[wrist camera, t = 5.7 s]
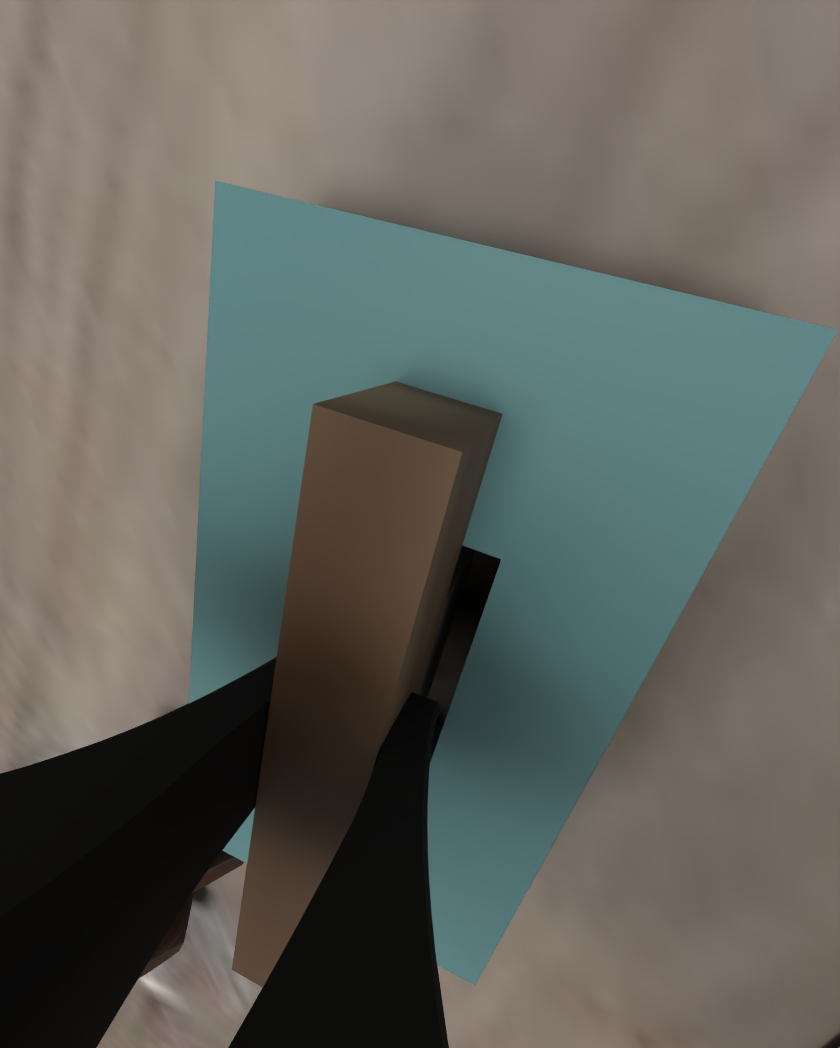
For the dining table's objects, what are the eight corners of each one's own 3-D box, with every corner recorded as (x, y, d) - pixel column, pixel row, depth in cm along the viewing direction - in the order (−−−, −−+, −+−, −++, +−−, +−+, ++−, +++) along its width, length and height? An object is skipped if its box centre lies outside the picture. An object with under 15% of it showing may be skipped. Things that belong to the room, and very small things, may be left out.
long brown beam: (524, 393, 11) (462, 452, 6) (394, 799, 17) (304, 1011, 12) (440, 368, 12) (312, 404, 6) (341, 774, 18) (231, 969, 12)
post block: (762, 329, 10) (837, 330, 7) (496, 868, 18) (474, 985, 14) (314, 219, 12) (215, 180, 9) (247, 749, 19) (182, 829, 16)
